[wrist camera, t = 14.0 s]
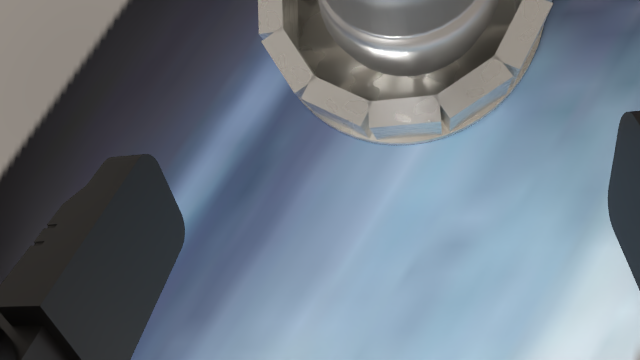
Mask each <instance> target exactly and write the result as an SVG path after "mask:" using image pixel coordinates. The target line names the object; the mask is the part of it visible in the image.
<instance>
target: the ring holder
mask: <svg viewBox="0 0 640 360" xmlns="http://www.w3.org/2000/svg"><path fill="white" fill-rule="evenodd" d="M551 2H552V0H499V2H498V6H497V9H496V11H495V13H494V15H493V17H492V19H491V21H490V23H489V25H488V26H487V27H486V29H485V30H484V32H483V33H482V34H481V36H480V37H479V38H478V40H477V41H476V42H475V44H474V45H473V46H472V48H471V49H469V50H468V51H467V52H466V53H465V54H464V55H463V56H462V57H461V58H459V59H458V60H456V61H455V62H453V63H451V64H450V65H448V66H447V67H444V68H442V69H439V70H437V71H434V72H432V73H428V74H423V75H418V76H393V75H387V74H382V73H380V72H377V71H374V70H372V69H369V68H367V67H366V66H364V65H363V64H361V63H359V62H358V61H356V60H355V59H354V58H352V57H351V56H350V55H349V54H347V53H346V52H345V51H344V50H343V49H342V48H341V47H340V46H339V45H338V44H337V43H336V42H335V41H334V39H333V38H332V36H331V35H330V33H329V32H328V30H327V28H326V26H325V23H324V21H323V18H322V16H321V11H320V7H319V2H318V0H258V15H259V35H260V36H261V37H262V38H263V39H264V40H263V41H261V42H262V43H263V45H264V47H265V48H266V50H267V51H268V53H269V54H270V56H271V57H272V59H273V60H274V62H275V64H276V65H277V67H278V68H279V70H280V71H281V73H282V74H283V76H284V78H285V79H286V81H287V82H288V84H289V85H290V87H291V88H292V90H293V91H294V93H295V94H296V95H297V96H298V98H299V99H300V100H301V101H302V102H303V103H304V104H305V105H306V106H307V107H308V108H309V109H310V110H311V111H312V112H313V113H314V114H315V115H316V116H317V117H318V118H320V119H321V120H322V121H324V122H325V123H326V124H328V125H329V126H331V127H333V128H335V129H336V130H338V131H340V132H342V133H344V134H346V135H349V136H351V137H354V138H356V139H359V140H363V141H367V142H371V143H376V144H385V145H414V144H421V143H428V142H432V141H435V140H439V139H442V138H446V137H449V136H451V135H453V134H456V133H458V132H460V131H463V130H465V129H467V128H468V127H470V126H472V125H473V124H475V123H477V122H479V121H480V120H482V119H483V118H484V117H486V116H487V115H488V114H490V113H491V112H492V111H494V110H495V109H496V108H497V107H498V106H499V105H500V104H501V103H502V102H503V101H504V100H505V99H506V98H507V97H508V96H509V95H510V94H511V92H512V91H513V90H514V88H515V87H516V86H517V85H518V83H519V82H520V81H521V79H522V77H523V76H524V74H525V72H526V70H527V69H528V67H529V65H530V63H531V61H532V59H533V56H534V54H535V52H536V49H537V47H538V44H539V41H540V37H541V34H542V30H543V26H544V23H545V21H546V18H547V16H548V14H549V12H550V9H551V7H552V5H553V3H551Z"/></svg>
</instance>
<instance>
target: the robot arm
mask: <svg viewBox="0 0 640 360" xmlns="http://www.w3.org/2000/svg"><path fill="white" fill-rule="evenodd" d="M608 209H609V216H610V221H611V224H612V227H613V230H614V232H615V234H616V237H617V239H618V241H619V244H620V246H621V248H622V251H623V253H624V255H625V258H626V260H627V262H628V264H629V267H630V269H631V271H632V274H633V276H634V278H635V281H636V283H637V285H638V288H639V290H640V111H632V112H626V113H624V115H623V116H622V118H621V120H620V124H619V129H618V135H617V141H616V147H615V153H614V159H613V165H612V171H611V177H610V183H609V189H608ZM47 225H48V228H46V229H43V231H42V232H41V233H40V235H39V236H38V237H37V238H36V240H35V241H34V243H35V245H34V246H30V247H29V249H28V250H27V251H26V253H25V254H24V255H23V257H22V258H21V259H20V260H19V262H18V263H17V264H16V266H15V267H14V268H13V269H12V271H11V272H10V273H9V275H8V276H7V277H6V279H5V280H4V281H3V282H2V284H1V285H0V360H130V359H131V357H132V355H133V353H134V350H135V348H136V346H137V344H138V342H139V340H140V337H141V335H142V333H143V331H144V329H145V327H146V324H147V322H148V320H149V318H150V316H151V314H152V311H153V309H154V307H155V305H156V303H157V301H158V298H159V296H160V294H161V292H162V290H163V288H164V285H165V283H166V281H167V279H168V277H169V275H170V272H171V270H172V268H173V266H174V264H175V262H176V259H177V257H178V255H179V253H180V251H181V249H182V246H183V243H184V236H185V227H184V220H183V217H182V214H181V212H180V210H179V207H178V205H177V203H176V201H175V199H174V197H173V194H172V192H171V190H170V188H169V186H168V183H167V181H166V179H165V177H164V175H163V172H162V170H161V168H160V166H159V164H158V162H157V161H156V159H155V158H154V157H153V156H151V155H149V154H142V155H131V156H120V157H111V158H108V159H107V160H106V161H105V162H104V163H103V164H102V165H101V167H100V168H99V169H98V171H97V172H96V173H95V175H94V176H93V177H92V179H91V180H90V181H89V183H88V184H87V185H86V186H85V187H84V188H83V189H81V190H80V191H79V192H78V193H76V194H75V195H74V196H73V197H71V198H70V199H69V200H67V201H66V202H65V203H64V204H63V205H62V206H61V207H60V209H59V210H58V211H57V213H56V214H55V215H54V216H53V218H52V219H51V220H50V222H49V223H48V224H47Z"/></svg>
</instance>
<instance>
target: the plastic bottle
mask: <svg viewBox="0 0 640 360" xmlns="http://www.w3.org/2000/svg"><path fill="white" fill-rule="evenodd" d="M318 2H319V7H320V11H321V16H322V18H323V21H324V23H325V26H326V28H327V30H328V32H329V33H330V35H331V36H332V38H333V39H334V41H335V42H336V43H337V44H338V45H339V46H340V47H341V48H342V49H343V50H344V51H345V52H346V53H347V54H349V55H350V56H351V57H352V58H354V59H355V60H356V61H358V62H359V63H361V64H363V65H364V66H366V67H367V68H369V69H372V70H374V71H377V72H380V73H382V74H387V75H393V76H418V75H423V74H428V73H432V72H434V71H437V70H439V69H442V68H444V67H447V66H448V65H450V64H451V63H453V62H455V61H456V60H458V59H459V58H461V57H462V56H463V55H464V54H465V53H466V52H467V51H468V50H469V49H471V48H472V46H473V45H474V44H475V42H476V41H477V40H478V38H479V37H480V36H481V34H482V33H483V32H484V30H485V29H486V27H487V26H488V25H489V23H490V21H491V19H492V17H493V15H494V13H495V11H496V9H497V6H498V2H499V0H318Z"/></svg>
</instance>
